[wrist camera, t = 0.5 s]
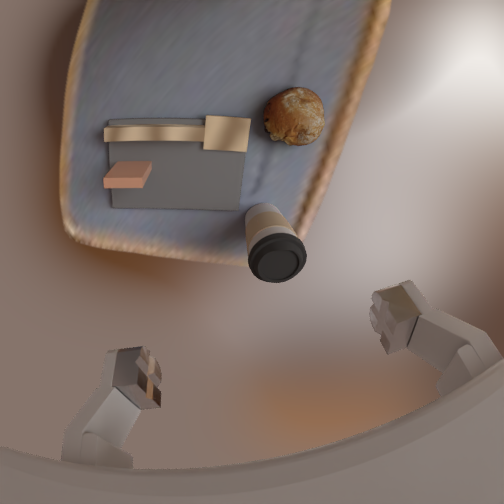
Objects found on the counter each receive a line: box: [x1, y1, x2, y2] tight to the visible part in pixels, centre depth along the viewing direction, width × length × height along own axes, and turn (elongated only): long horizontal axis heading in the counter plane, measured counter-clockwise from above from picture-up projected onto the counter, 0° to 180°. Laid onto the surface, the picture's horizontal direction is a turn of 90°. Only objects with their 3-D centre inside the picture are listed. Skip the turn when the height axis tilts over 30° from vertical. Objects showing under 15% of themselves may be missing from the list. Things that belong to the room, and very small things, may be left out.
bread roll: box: [264, 87, 325, 146], centre depth 43 cm, size 10×10×8 cm
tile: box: [103, 161, 152, 188], centre depth 41 cm, size 2×6×8 cm, turn 83°
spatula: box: [104, 115, 251, 152], centre depth 41 cm, size 23×6×2 cm, turn 82°
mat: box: [109, 118, 246, 211], centre depth 46 cm, size 16×23×1 cm
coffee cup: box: [245, 203, 307, 283], centre depth 49 cm, size 9×9×15 cm
